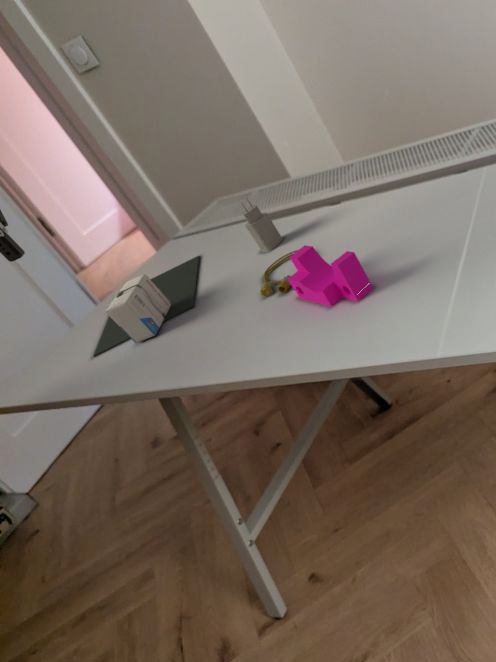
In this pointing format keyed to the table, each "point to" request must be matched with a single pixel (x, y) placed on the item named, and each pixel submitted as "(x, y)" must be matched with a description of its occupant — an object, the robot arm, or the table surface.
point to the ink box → (139, 308)
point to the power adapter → (261, 228)
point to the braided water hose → (284, 282)
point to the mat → (175, 288)
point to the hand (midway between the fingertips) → (18, 257)
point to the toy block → (328, 277)
